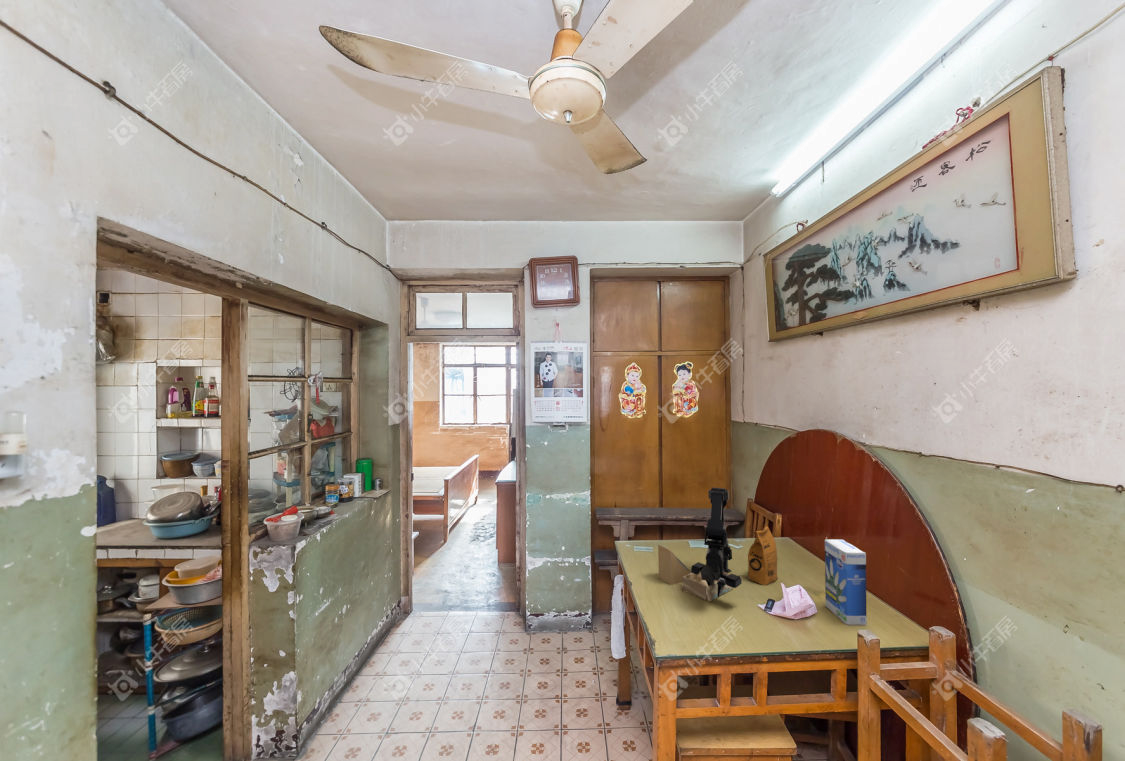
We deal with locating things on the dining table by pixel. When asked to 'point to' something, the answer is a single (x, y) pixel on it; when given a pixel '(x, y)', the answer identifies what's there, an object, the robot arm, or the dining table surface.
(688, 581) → the carton
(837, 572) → the string lights box
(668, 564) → the sandwich container
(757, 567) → the coffee package
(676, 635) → the dining table surface
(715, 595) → the flap
